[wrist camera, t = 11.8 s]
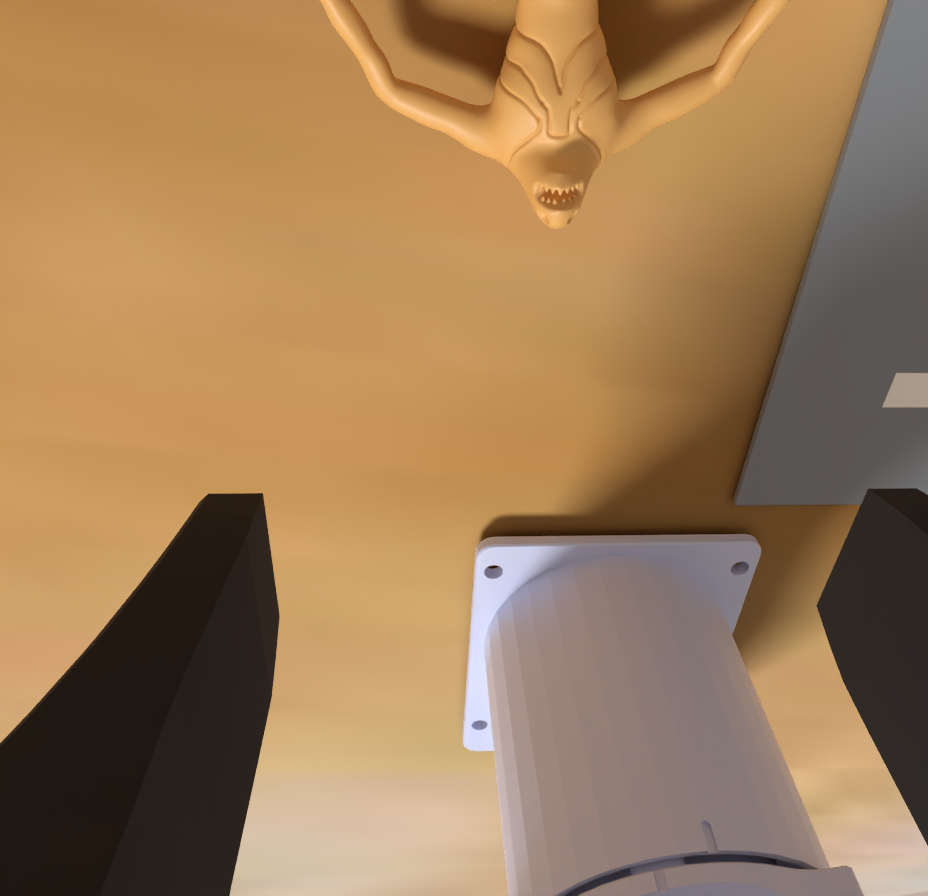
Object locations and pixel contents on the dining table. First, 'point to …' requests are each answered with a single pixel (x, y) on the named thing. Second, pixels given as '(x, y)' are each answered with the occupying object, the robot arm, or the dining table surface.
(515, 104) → the figurine
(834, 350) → the grey tile
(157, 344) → the dining table surface
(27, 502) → the dining table surface
